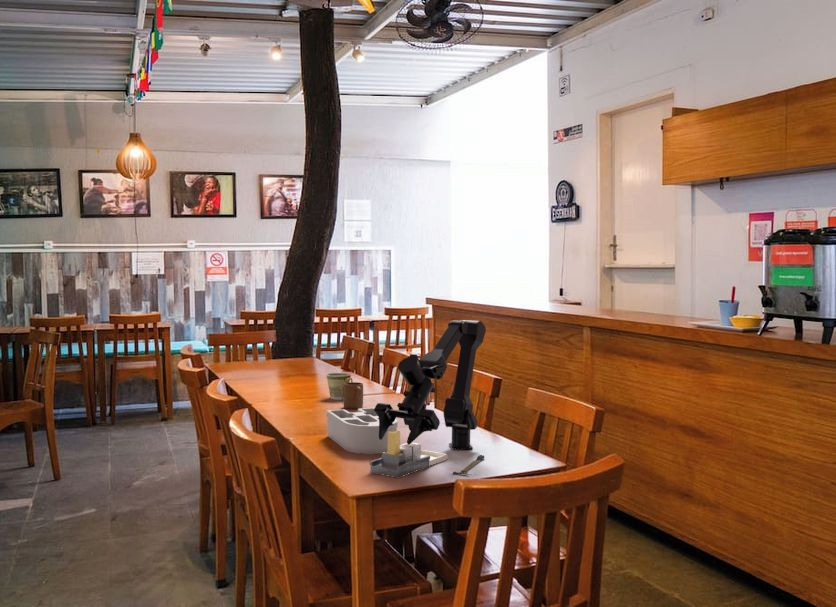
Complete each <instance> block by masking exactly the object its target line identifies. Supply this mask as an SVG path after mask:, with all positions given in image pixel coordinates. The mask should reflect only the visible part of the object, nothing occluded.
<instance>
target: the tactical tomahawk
mask: <svg viewBox="0 0 836 607" xmlns="http://www.w3.org/2000/svg"><path fill="white" fill-rule="evenodd" d="M483 459H485V455H482V454H479V455H478V456H477V457H476V459H475V460H473V461H472V462H471V463H469V464H468V465H467V466H465V467H464V468H463V469H462V470H460V472H459V471H458V472H457V471H453V472H452V475H454V476H460V477H461V476H462V477H467V478H468V477H470V476H472V474H471V473H469V471H470V470H471V469H472V468H474V467H475V466H477V465H478V464H480V462H482V461H483ZM468 473H469V474H468Z"/></svg>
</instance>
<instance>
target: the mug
mask: <svg viewBox="0 0 836 607" xmlns="http://www.w3.org/2000/svg"><path fill="white" fill-rule="evenodd" d="M363 407H364V383H362V382H357V381H353V382H351V381H350V382H348V383H344V399H343V408H344V409H347V410H358V409H361V408H363Z"/></svg>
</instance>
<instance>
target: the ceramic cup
mask: <svg viewBox="0 0 836 607" xmlns="http://www.w3.org/2000/svg"><path fill="white" fill-rule="evenodd" d="M326 381H327V384H328V390H329V391H328V392H329V396H330V399H331V400H335V401H342V400H343V401H344V383H348V382H354V381H353V379H352V377H351V373H347V372H345V373H344V372H331V373H326Z"/></svg>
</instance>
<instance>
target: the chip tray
mask: <svg viewBox="0 0 836 607" xmlns="http://www.w3.org/2000/svg"><path fill="white" fill-rule="evenodd" d="M425 456H430V460H429V467H431V466H430V465H432V466H434V465H437V464H439V463H442V462H444V461H447V460H448V459H449V454H448V453H444V452H438V451H432V450H425V449H421V458H422V457H425ZM436 463H437V464H436ZM433 464H434V465H433Z"/></svg>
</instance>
